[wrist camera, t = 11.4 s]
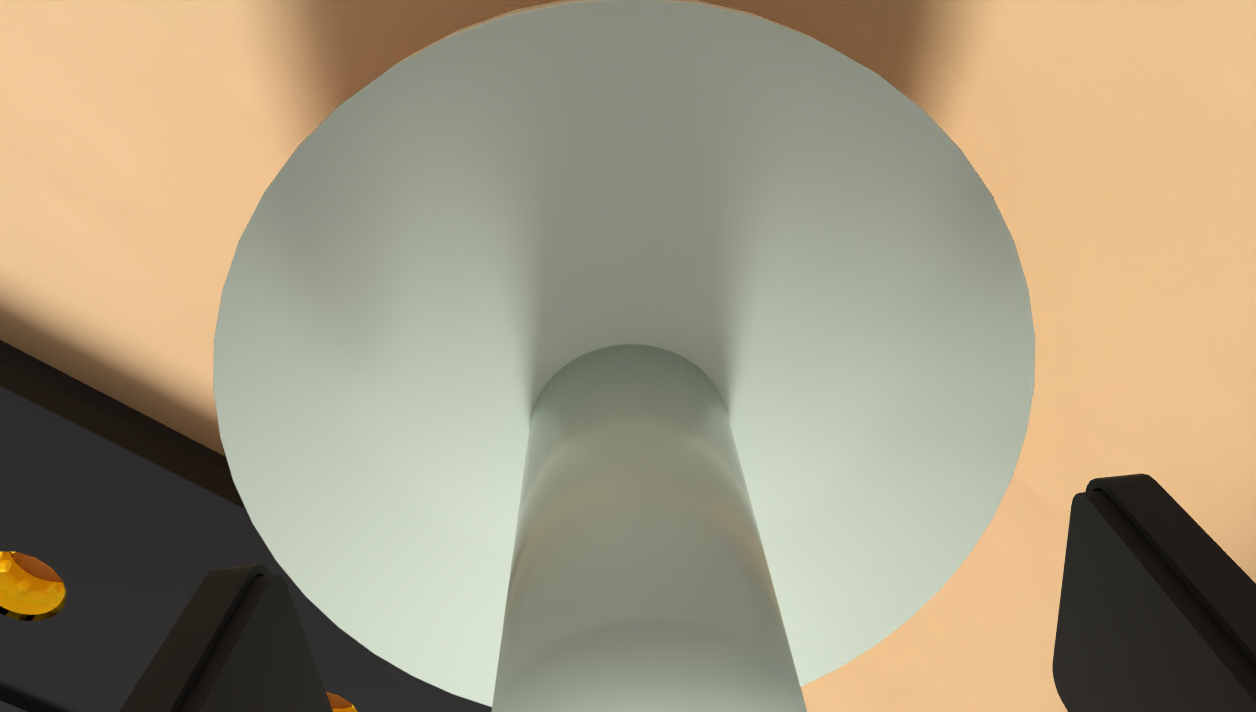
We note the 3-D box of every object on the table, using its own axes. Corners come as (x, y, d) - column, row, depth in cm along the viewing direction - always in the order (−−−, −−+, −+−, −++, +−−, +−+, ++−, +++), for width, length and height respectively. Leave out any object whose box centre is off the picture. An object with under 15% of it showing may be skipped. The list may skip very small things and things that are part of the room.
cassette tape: (-211, 611, 24) (-283, 673, 22) (-75, 283, 20) (-148, 322, 18) (383, 853, 29) (368, 920, 27) (585, 629, 25) (585, 688, 23)
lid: (1033, -63, 12) (1514, -52, 6) (982, 638, 18) (1197, 1037, 12) (122, 57, 13) (-373, 191, 6) (353, 709, 18) (220, 1136, 12)
